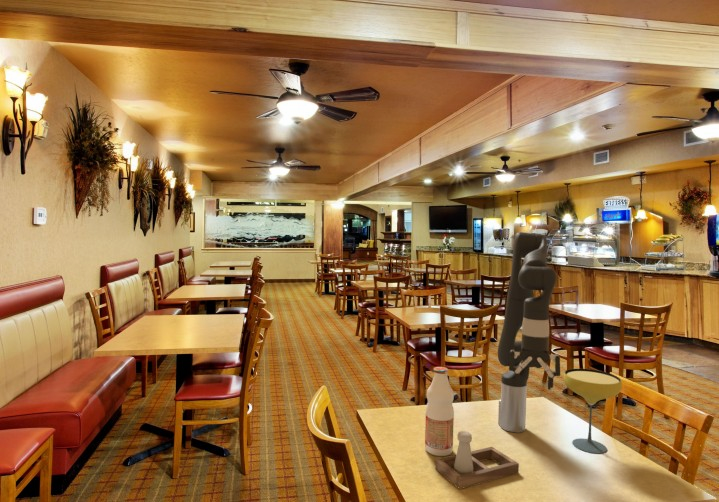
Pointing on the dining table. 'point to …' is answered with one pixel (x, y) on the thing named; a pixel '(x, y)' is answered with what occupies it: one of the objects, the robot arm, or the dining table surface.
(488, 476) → the caddy
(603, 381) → the cocktail glass
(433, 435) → the fruit juice
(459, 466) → the salt shaker
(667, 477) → the dining table surface
